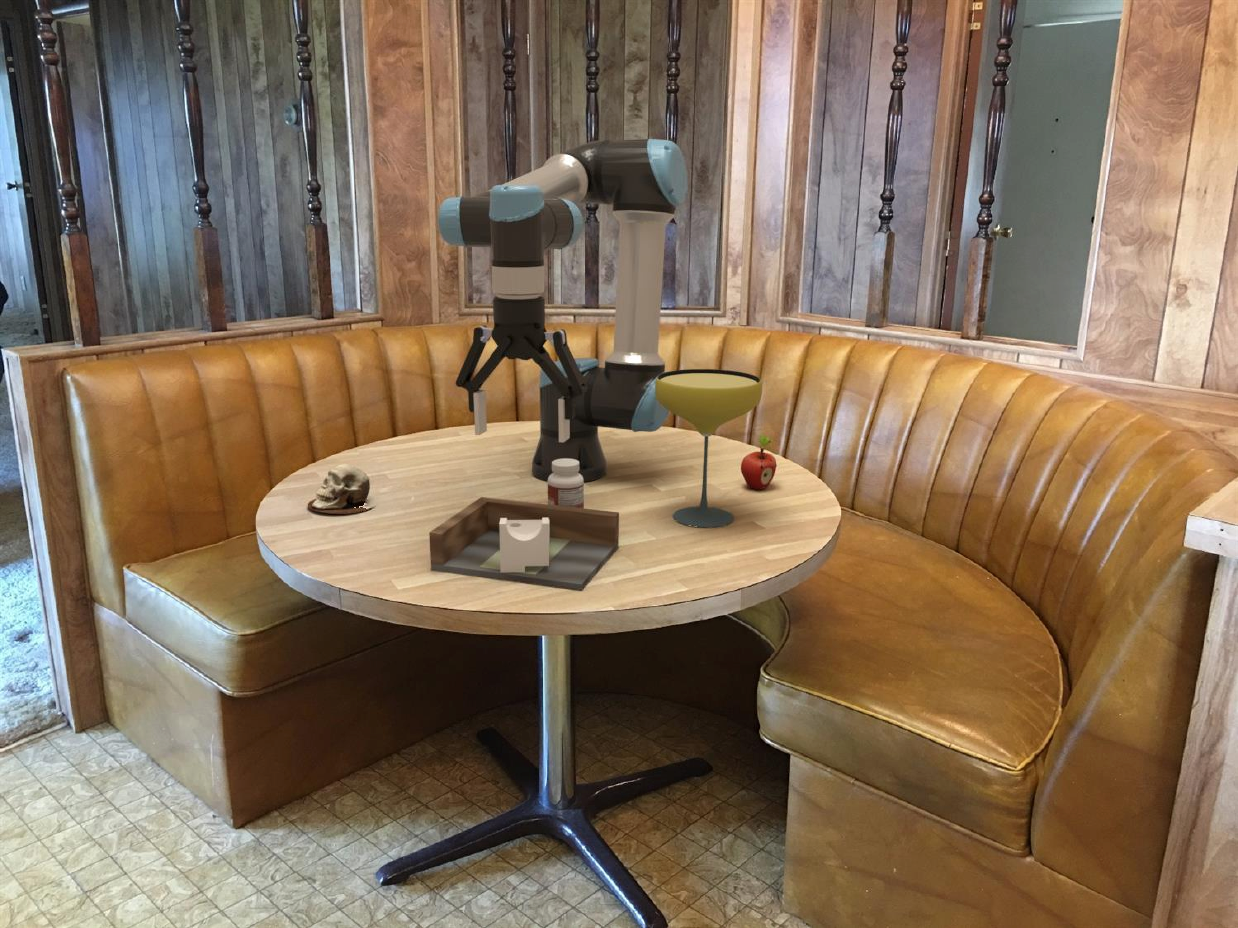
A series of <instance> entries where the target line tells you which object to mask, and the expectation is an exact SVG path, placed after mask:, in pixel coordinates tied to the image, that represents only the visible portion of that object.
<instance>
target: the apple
mask: <svg viewBox="0 0 1238 928" xmlns="http://www.w3.org/2000/svg"><path fill="white" fill-rule="evenodd" d="M758 440H759V443H760V446H761V447H760V451H753V452H750V453H748V454H747V455H745V456H744V457H743V459H742V461H741V462H740V463H741V464H740V472H741V474H742V478H744V482H745V483H746V486H747V487H748V488H750V489H755V490H763V489H765V488H767V487H769V485H770V483H771V482H772V481H773V479H774V478H775V477H774V476H775V475H776V468H777V465H778V464H777V460H776V458H775V456H774V455H773V454H771V453H768V452H764V451H765V446H767V445H769V444H770V443H772V440H771V439H770V438H769V437H767V436H764V435H762V434H760V436H759V439H758Z"/></svg>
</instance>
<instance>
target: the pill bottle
mask: <svg viewBox="0 0 1238 928" xmlns="http://www.w3.org/2000/svg"><path fill="white" fill-rule="evenodd" d="M579 469H580V468H579V461H577V460H575V459H567V458H564V459H557V460H554V461H553V462H552V471H553V473H552V474H551V475H550V476H549V477H548V481H547V504H549V505H558V506H566V507H575V508H584V506H585V503H584V502H585V501H584V495H585V494H584V492H585V490H584V488H585V487H584V486H585V485H584V484H585V482H584V479H583V477H582V475H581V474H579V473H578V471H579ZM584 509H585V508H584Z"/></svg>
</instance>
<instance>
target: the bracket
mask: <svg viewBox="0 0 1238 928" xmlns="http://www.w3.org/2000/svg"><path fill="white" fill-rule="evenodd" d="M499 529H500V569H501V573H505V572H525V566H549V540H550V523H549V518H542V520H507V518H500V523H499Z"/></svg>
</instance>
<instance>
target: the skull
mask: <svg viewBox="0 0 1238 928" xmlns="http://www.w3.org/2000/svg"><path fill="white" fill-rule="evenodd" d="M327 476H328V477H325V478H324V480H323V482H322V484H321V487H320V488H318V490H317V491H316V497H315V498H314V499H311V500H310V501H308V503H307V507H308V508H309V509H310V510H312V511H314V512H317V513H325V514H334V515H336V514H337V515H340V516H342V515H343V514H344V515H350V514H357V513H363V512H367V511H366V510H368V511H370V510H369V509H366V508H363V507H360V508H359V506H363V505H364V503H365V502H366V500H367V499H368V497H369V493H370V488H371V483H370V478H369V476H368V475H367V473H366V472H364V471H363V470H362V469H361V468H358V467H357V466H355V465H352V464H348V463H341V464H338V465H336V466H334V467H333V468H331V469H330V470H328V472H327ZM354 507H356V508H354ZM360 511H361V512H360ZM362 511H363V512H362Z"/></svg>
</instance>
